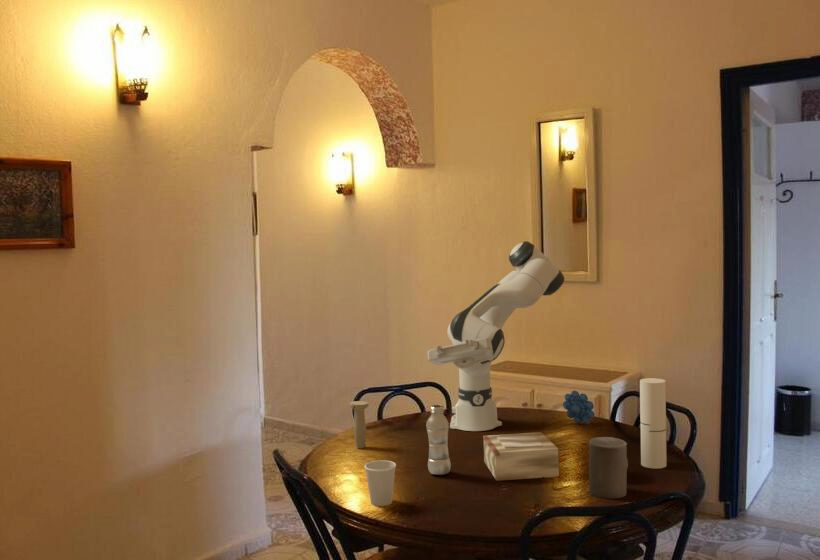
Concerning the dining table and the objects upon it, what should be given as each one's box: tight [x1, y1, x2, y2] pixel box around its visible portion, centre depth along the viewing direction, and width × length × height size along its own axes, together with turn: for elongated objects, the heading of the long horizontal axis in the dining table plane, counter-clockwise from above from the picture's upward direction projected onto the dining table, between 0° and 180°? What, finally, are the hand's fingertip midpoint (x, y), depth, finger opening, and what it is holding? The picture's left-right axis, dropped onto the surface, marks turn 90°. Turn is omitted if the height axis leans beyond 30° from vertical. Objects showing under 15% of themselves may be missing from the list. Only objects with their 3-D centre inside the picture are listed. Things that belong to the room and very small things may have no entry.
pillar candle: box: [588, 436, 628, 500], centre depth 200 cm, size 10×10×15 cm
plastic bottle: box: [425, 404, 452, 476], centre depth 220 cm, size 6×7×20 cm
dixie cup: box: [363, 459, 397, 507], centre depth 199 cm, size 8×8×10 cm
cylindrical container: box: [639, 377, 667, 470], centre depth 221 cm, size 7×7×25 cm
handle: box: [349, 400, 369, 449], centre depth 250 cm, size 5×6×15 cm
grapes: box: [562, 390, 596, 425], centre depth 270 cm, size 12×7×12 cm, turn 58°
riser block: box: [482, 431, 560, 481], centre depth 222 cm, size 18×18×8 cm
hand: (452, 345), depth 227 cm, fingers open, 8 cm apart
